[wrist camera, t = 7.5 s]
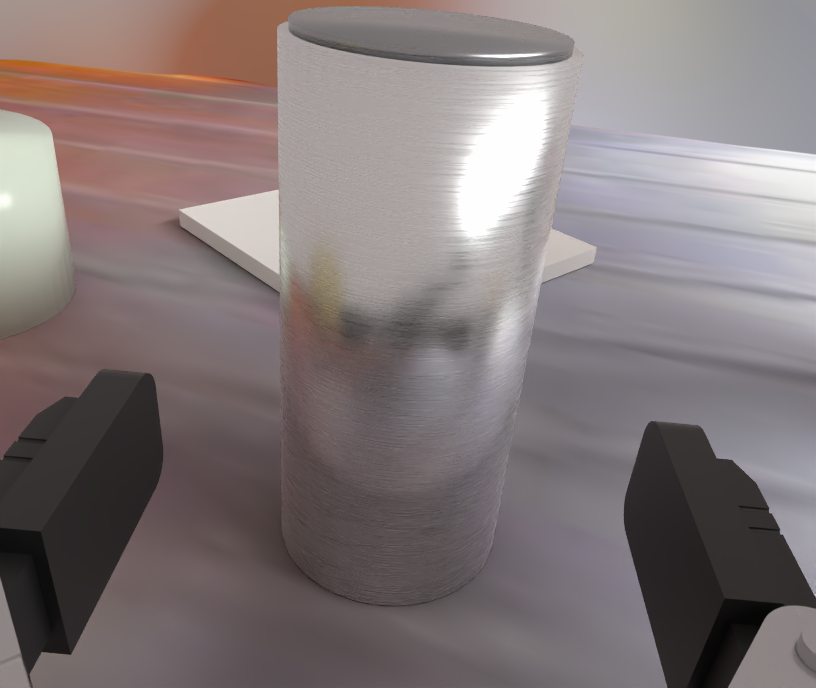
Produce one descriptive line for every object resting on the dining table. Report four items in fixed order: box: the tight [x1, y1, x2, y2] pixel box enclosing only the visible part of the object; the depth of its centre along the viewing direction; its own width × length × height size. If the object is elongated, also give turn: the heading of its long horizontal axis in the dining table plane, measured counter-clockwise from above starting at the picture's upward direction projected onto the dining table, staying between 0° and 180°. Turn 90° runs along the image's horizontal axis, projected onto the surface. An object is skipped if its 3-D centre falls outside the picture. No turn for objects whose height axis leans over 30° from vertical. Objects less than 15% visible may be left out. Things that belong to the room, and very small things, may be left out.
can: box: [277, 6, 584, 606], centre depth 17 cm, size 6×6×12 cm
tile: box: [179, 190, 597, 292], centre depth 35 cm, size 14×14×1 cm
